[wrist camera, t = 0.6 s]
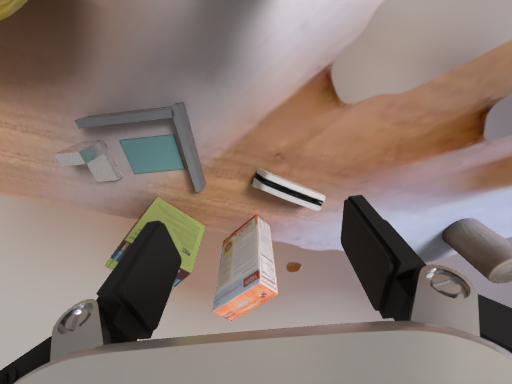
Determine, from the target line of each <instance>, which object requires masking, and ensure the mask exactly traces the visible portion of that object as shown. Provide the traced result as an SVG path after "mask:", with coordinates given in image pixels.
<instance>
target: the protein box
mask: <svg viewBox="0 0 512 384" xmlns="http://www.w3.org/2000/svg"><path fill="white" fill-rule="evenodd" d="M151 221H161V222H162V223H164V224H165V225H166V227H167V229H168V232H169V234H170V236H171V238H172V240H173V242H174V244H175V246H176V248H177V250H178V252H179V254H180V256H181V259H182V262H181V266H180V269H179V271H178V274H177V276H176V279H175V282H174V284H173V287H172V289H173V288H174V287H175V286H176V285H177V284H179V283H180V282H181V281H182V280H183V279H185V278H186V277H187V276H188V275H190V274H191V272H192V269H193V266H194V263H195V260H196V257H197V253H198V250H199V247H200V244H201V240H202V237H203V234H204V231H205V228H206V226H204V225H203V224H201V223H200V222H198V221H196V220H195V219H193V218H191V217H190V216H188V215H187V214H185V213H183V212H182V211H180V210H178V209H177V208H175V207H174V206H172V205H170V204H169V203H167V202H165V201H164V200H162V199H161V198H159V197H157V198H156V199H155V200H154V201H153V202H152V204H151V205H150V206H149V207H148V208H147V210H146V211H145V212H144V213H143V215H142V216H141V217H140V219H139V220H138V221H137V222H136V224H135V225H134V226H133V228H132V229H131V230H130V232H129V233H128V234H127V236H126V237H125V238H124V240H123V241H122V242H121V244H120V245H119V246H118V248H117V249H116V250H115V252H114V253H113V255H112V256H111V257H110V259H109V260H108V262H107V263H106V264H105V266H106V267H108V268H110V269H114V268H115V267H116V265H117V264H118V262H119V261H120V260H121V258H122V257H123V255H124V254H125V253H126V251H127V250H128V248H129V247H130V246H131V244H132V243H133V241H134V240H135V238H136V237H137V236H138V234H139V233H140V231H141V230H142V229H143V227H144V226H145V224H146V223H147V222H151Z"/></svg>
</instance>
